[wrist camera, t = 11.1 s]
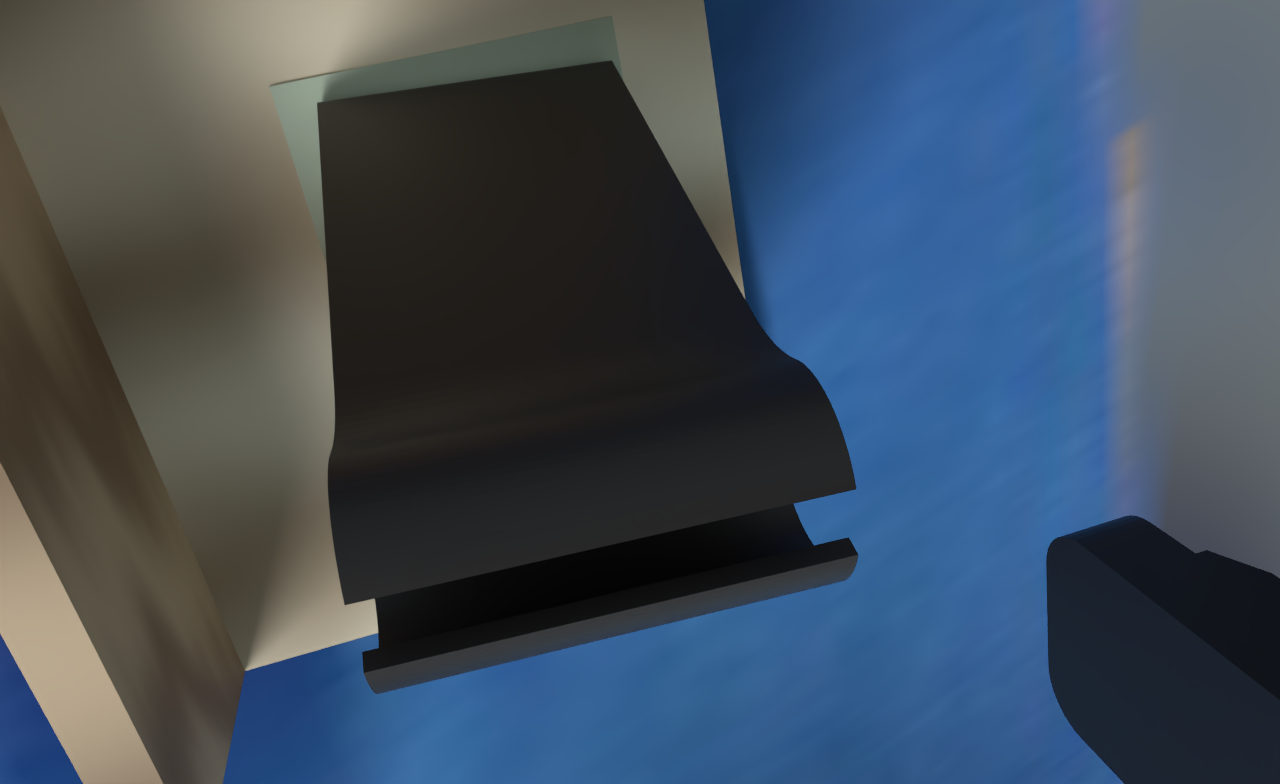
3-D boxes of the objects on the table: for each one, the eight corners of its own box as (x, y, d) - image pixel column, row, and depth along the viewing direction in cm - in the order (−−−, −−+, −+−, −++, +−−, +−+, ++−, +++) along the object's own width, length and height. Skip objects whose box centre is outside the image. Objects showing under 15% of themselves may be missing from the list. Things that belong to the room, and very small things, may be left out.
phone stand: (317, 98, 20) (242, 240, 9) (610, 58, 21) (852, 144, 10) (408, 490, 24) (429, 923, 13) (653, 440, 25) (865, 802, 14)
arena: (765, 504, 27) (876, 657, 21) (200, 665, 25) (140, 888, 19) (653, -274, 20) (776, -387, 14) (-166, -139, 18) (-460, -201, 11)
